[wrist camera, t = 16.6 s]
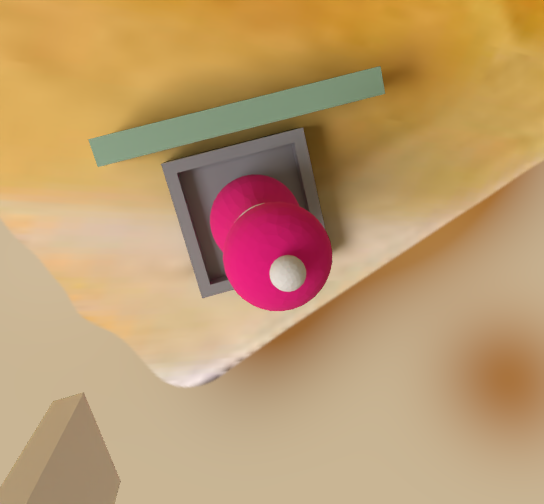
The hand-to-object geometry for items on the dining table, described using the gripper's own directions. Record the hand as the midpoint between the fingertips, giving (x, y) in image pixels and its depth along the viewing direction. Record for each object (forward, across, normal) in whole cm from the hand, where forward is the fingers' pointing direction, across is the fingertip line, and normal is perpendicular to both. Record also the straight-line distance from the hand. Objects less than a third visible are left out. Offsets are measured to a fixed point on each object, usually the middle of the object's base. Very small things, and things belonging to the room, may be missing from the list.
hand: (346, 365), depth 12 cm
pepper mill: (+30, 0, +1) cm, 30 cm away
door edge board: (+31, 0, -7) cm, 31 cm away
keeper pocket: (+31, +1, +1) cm, 31 cm away
